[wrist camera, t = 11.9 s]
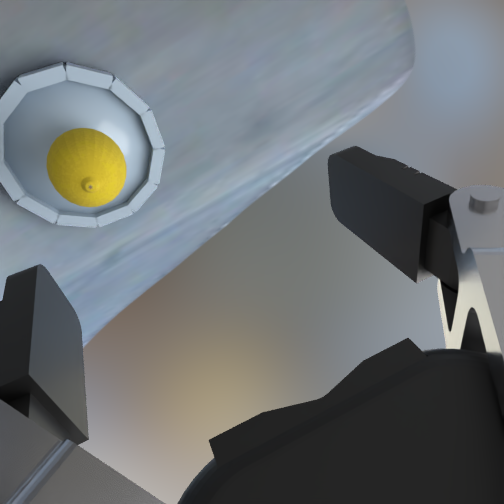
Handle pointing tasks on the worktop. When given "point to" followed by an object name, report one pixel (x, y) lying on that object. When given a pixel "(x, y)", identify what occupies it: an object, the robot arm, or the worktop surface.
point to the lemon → (86, 167)
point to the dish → (70, 117)
